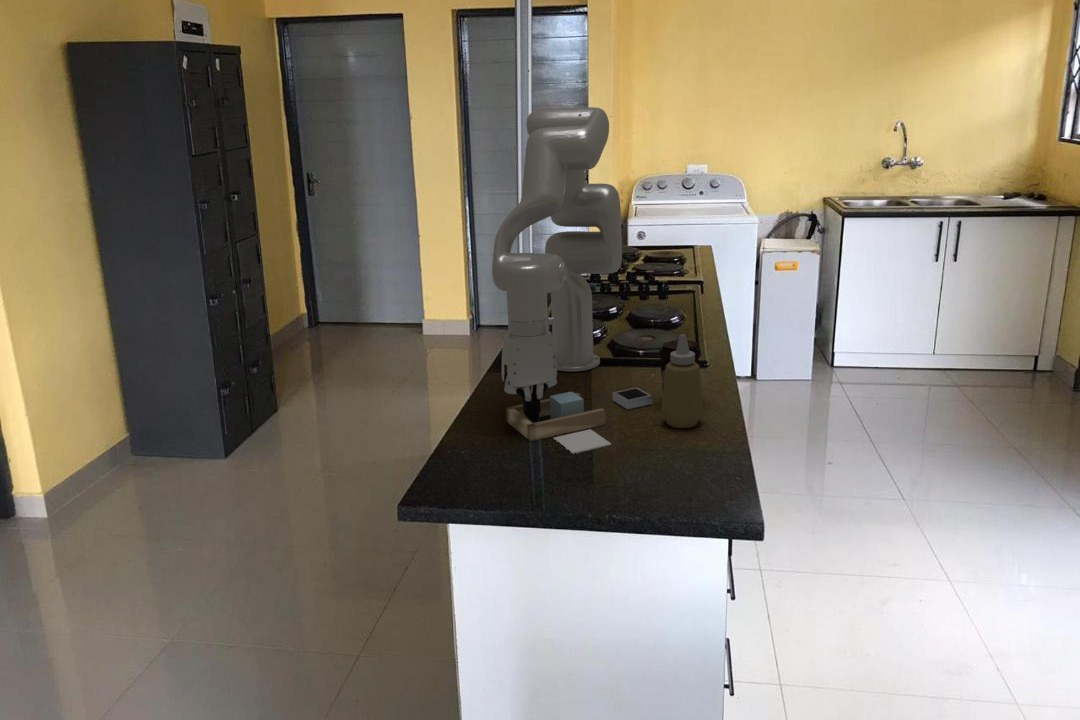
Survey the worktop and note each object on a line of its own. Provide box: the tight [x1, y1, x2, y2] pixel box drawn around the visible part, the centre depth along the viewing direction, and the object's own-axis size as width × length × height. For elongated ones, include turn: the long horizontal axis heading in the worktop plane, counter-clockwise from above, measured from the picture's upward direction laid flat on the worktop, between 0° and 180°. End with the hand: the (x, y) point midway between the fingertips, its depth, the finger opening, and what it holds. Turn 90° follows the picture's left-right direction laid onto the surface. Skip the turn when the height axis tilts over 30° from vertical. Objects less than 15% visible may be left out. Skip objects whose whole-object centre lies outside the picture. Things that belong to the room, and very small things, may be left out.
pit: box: [612, 386, 653, 411], centre depth 180 cm, size 6×6×2 cm
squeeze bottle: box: [661, 333, 704, 429], centre depth 166 cm, size 8×8×18 cm
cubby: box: [505, 392, 606, 442], centre depth 171 cm, size 11×16×3 cm
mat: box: [553, 428, 612, 455], centre depth 162 cm, size 8×8×1 cm
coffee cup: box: [658, 339, 702, 391], centre depth 177 cm, size 9×8×13 cm
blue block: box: [549, 391, 585, 419], centre depth 172 cm, size 5×5×5 cm
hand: (532, 417), depth 169 cm, fingers closed
